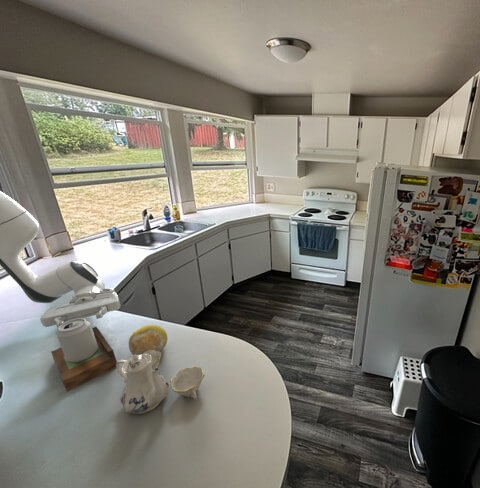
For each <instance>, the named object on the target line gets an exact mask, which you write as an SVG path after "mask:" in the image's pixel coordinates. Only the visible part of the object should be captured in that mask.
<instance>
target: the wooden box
mask: <svg viewBox="0 0 480 488" xmlns="http://www.w3.org/2000/svg"><path fill="white" fill-rule="evenodd" d="M92 330H93V333H94V336H95V339H96V342H97V345H98V350H97V351H96V352H95V353H94V354H93V355H92V356H91V357H89V358H88V359H86V360H83V361H79V362H69V361H67V360H66V357H65V355H64V353H63V350H62V348H61V347H58V348H56V349H54V350H51V351H50V353H51V356H52V359H53V361H54V364H55V366H56V368H57V371H58V374H59V375H60V378H61V381H62V383H63V386H64V387H65V390H66V392H70V391H71V390H73V389H75V388H77V387H79V386H81V385H83V384H85V383H87V382H89V381H92V380H93V379H95V378H97V377H99V376H101V375H103V374H105V373H107V372H109V371H111V370H112V369H116V363H117V362H118V361H117V358H116V355H115V351H114V349H113V348H112V346H111V345H110V344H109V342H108V340H107V339H106V338H105V336H104V335H103V333H102V332H101V330H100V329H99V327H98V326H94V327H92Z"/></svg>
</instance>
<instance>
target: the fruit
mask: <svg viewBox="0 0 480 488" xmlns="http://www.w3.org/2000/svg"><path fill="white" fill-rule="evenodd" d="M167 343H168V334H167V330H165V328H163V327H162V326H161V325H158V324H148V325H144V326H142V327H139V328H138V329H136V330H135V331H134V332H133V333H132V334H131V335H130V337H129V339H128V349H129V351H130V353H131V354H132V355H133V356H134V355H140V354H141V355H142V353H144V352H145V351H147V350H154V351H160V352H161V351H162V350H163V349H164V348H165V347H166V346H167Z"/></svg>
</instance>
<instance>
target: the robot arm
mask: <svg viewBox="0 0 480 488" xmlns="http://www.w3.org/2000/svg"><path fill="white" fill-rule="evenodd" d="M39 231H40V225H39V222H38V221H37V219H35V217H34V216H33V215H32V214H31V213H30V212H29V211H27V210H26V209H25V208H24V207H23V206H22V205H21V204H19V203H18V202H17V201H15V199H13V198H11V197H10V196H9V195H7V194H6V193H4V192H2V191H1V190H0V266H1V268H3V270H4V271H5V272H6V273H7V274H8V275H9V276H10V277H11V278H12V280H14V281H15V282H16V284H17V285H18V286H19V287H20V288H21V290H22V291H23V292H24V294H25V296H26V297H27V298H28V299H29V300H30V301H31V302H33V303H37V304H38V303H39V304H50V303H54V301H57V300H58V299H60V298H61V297H63V296H65V295H66V294H68V293H70V292H73V294H72V296H71V298H70V300H69V303H65V304H60V305H55V306H52V307H49V308H47V310H46V311H45V312H44V313H42V315H41V316H40V317H39V319H40V323H41V325H42V326H43V327H44V328H49V327H53V326H56V328H57V329H58V327H59V326H60V325H62V324H63V323H65V322H67V321H69V320H73V319H77V318H83V319H86V318H90V317H93V316H94V317H95V318H96V320H98V319H103V317H104V316H105V315H106V314H108V313H111V312H113V311H117V310H119V309H121V302H120V298H119V295H118V293H117V292H116V290H115V288H106V286H105V282H104V280H103V278H101V277H100V276H99V274H98V272H97V271H96V270H95V269H94V268H93V267H92V266H91V265H89V263H86V262H83V261H79V260H71V261H69V262H67V263H65V264H63V265H61V266H58V267H57V268H54V269H52V270H51V271H48V272H46V273H44V274H41V275H38V274H37V275H36V273H35V272H34V271H33V270H32V269H31V268H30V267H29V266H28V264H27V263H26V262H24V261H25V260H23V259H22V257H21V254H22V251H23V250H24V249H25V248H26V247H28V246H29V245H30V244H31V243H32V242H33V241H34V239H35V238H36V237H37V236H38V234H39Z"/></svg>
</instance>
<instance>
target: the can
mask: <svg viewBox="0 0 480 488" xmlns="http://www.w3.org/2000/svg"><path fill="white" fill-rule="evenodd" d="M92 328H93V327H92V325H91V322H90V321H88V320H87V319H86V318H77V319H73V320H69V321H67V322H65V323H63V324H62V325H60V326H59V327H58V328H57V331H56V332H55V333H56V334H55V335H56V338H57V341H58V343H59V346H60V348H62V350H63V353H64V355H65V357H66V360H67V361H69V362H79V361H83V360H86V359H88V358H89V357H91V356H92V355H93V354H94V353H95V352H96V351H97V350H98V345H97V342H96V339H95V336H94V332H93V329H92Z"/></svg>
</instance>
